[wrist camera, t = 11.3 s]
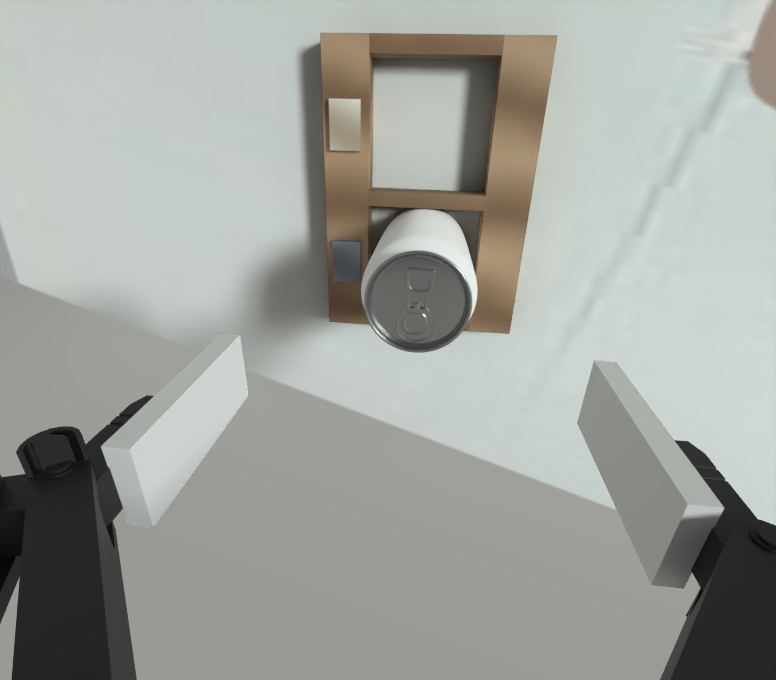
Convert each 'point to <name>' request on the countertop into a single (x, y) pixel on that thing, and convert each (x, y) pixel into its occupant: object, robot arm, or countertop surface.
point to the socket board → (497, 201)
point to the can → (420, 282)
